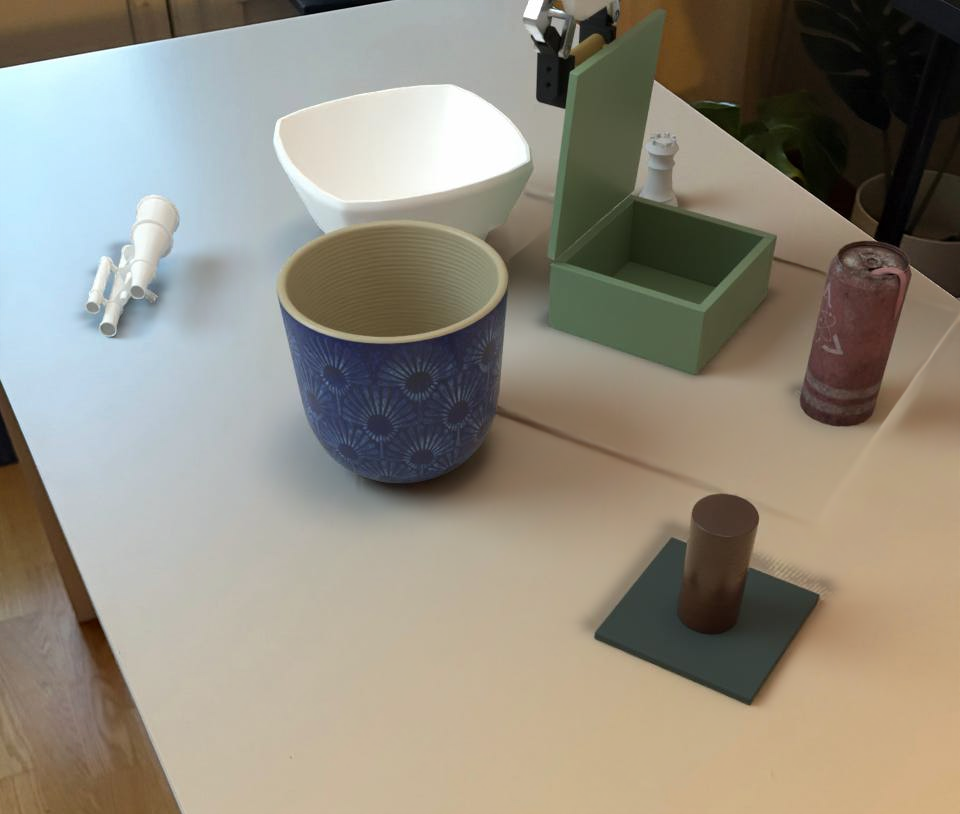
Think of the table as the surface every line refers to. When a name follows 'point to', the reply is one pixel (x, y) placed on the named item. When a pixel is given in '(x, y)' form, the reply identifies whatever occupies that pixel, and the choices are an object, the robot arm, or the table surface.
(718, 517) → the brown cylinder
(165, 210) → the white plastic piece
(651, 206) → the box
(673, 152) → the rook chess piece
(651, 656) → the mat
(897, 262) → the can
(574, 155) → the lid
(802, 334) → the table surface
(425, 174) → the bowl
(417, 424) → the planter
